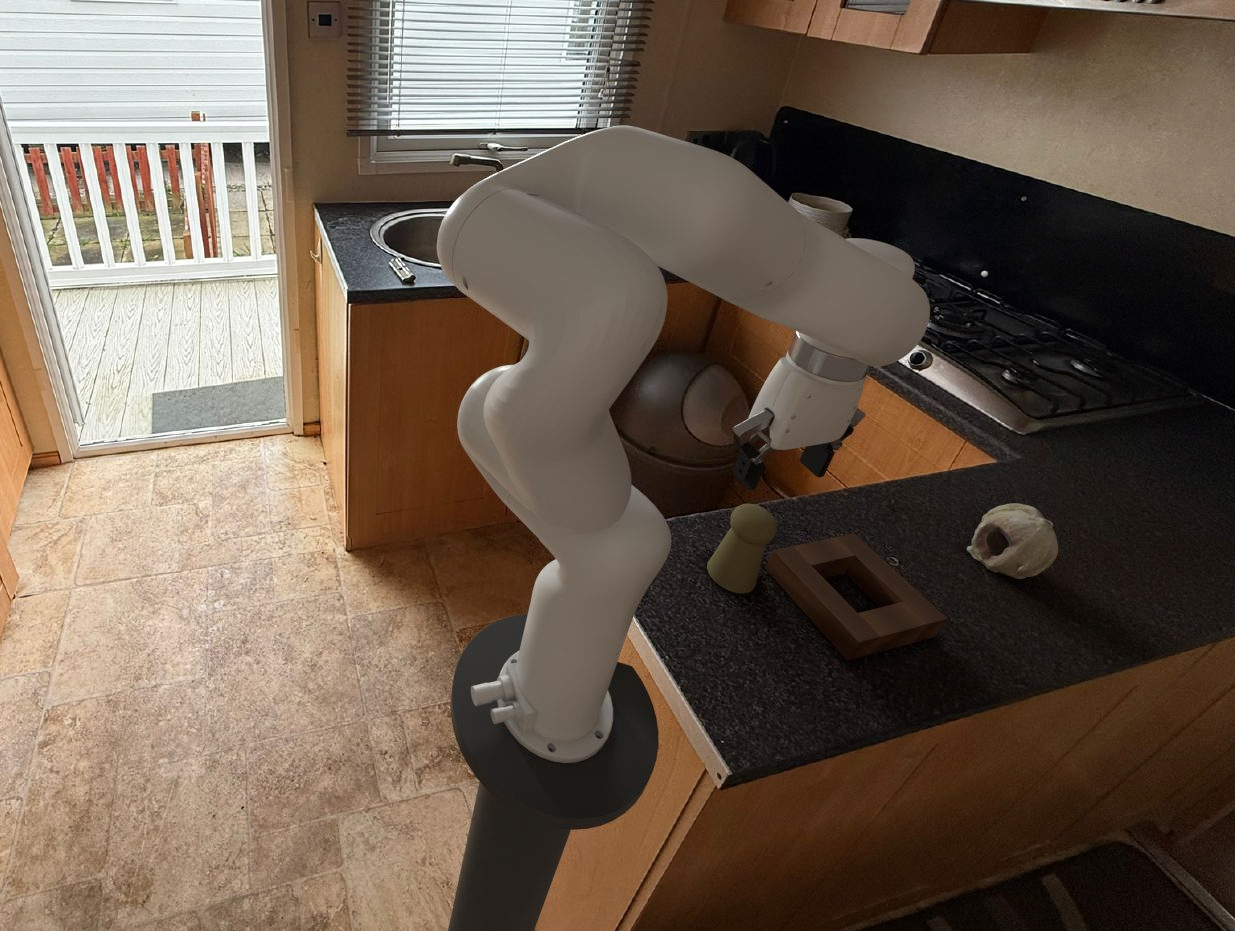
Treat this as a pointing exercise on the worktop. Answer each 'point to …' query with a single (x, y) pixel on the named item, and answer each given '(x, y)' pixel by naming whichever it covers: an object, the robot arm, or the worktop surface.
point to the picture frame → (846, 629)
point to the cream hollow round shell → (1015, 541)
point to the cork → (742, 549)
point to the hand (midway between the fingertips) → (777, 475)
